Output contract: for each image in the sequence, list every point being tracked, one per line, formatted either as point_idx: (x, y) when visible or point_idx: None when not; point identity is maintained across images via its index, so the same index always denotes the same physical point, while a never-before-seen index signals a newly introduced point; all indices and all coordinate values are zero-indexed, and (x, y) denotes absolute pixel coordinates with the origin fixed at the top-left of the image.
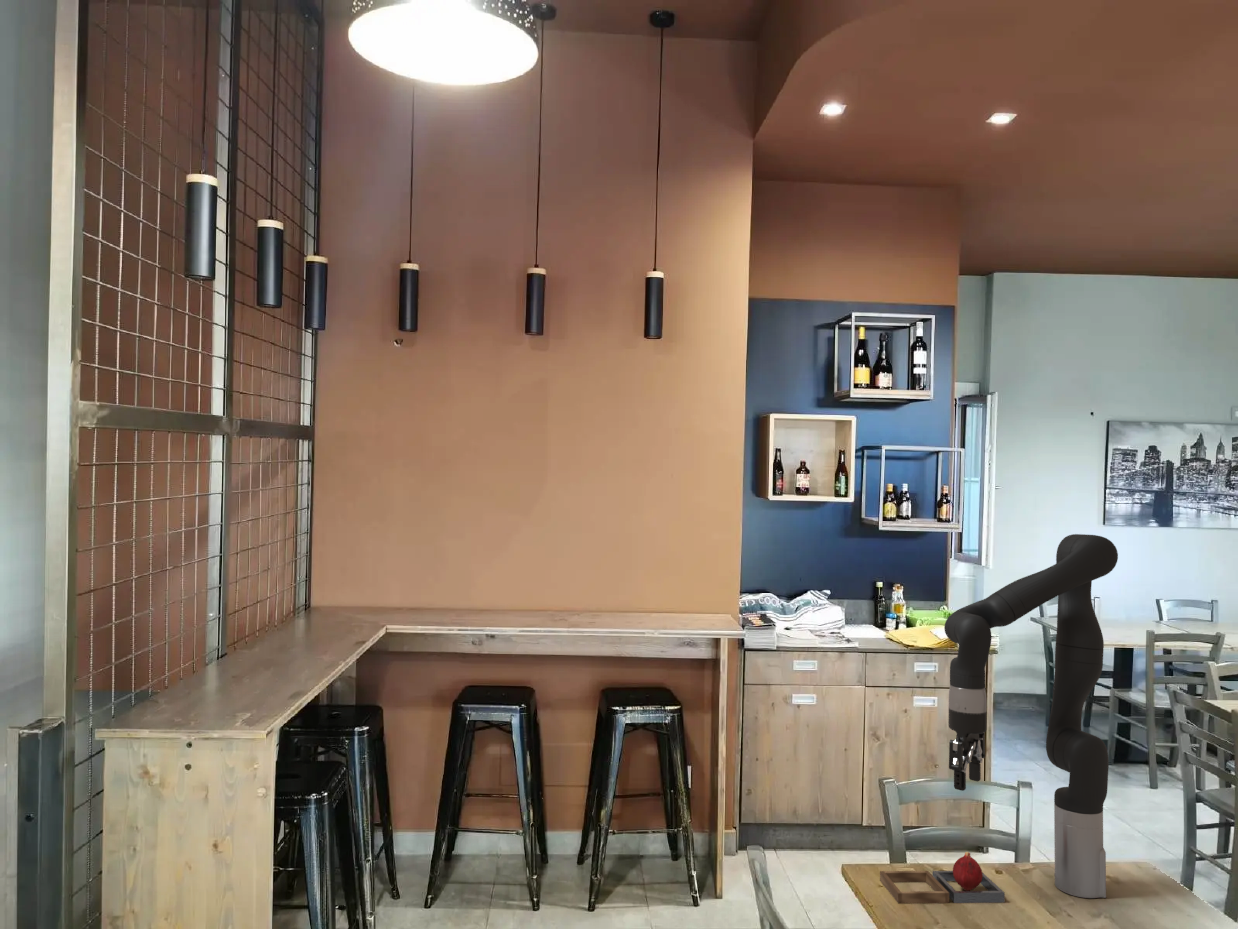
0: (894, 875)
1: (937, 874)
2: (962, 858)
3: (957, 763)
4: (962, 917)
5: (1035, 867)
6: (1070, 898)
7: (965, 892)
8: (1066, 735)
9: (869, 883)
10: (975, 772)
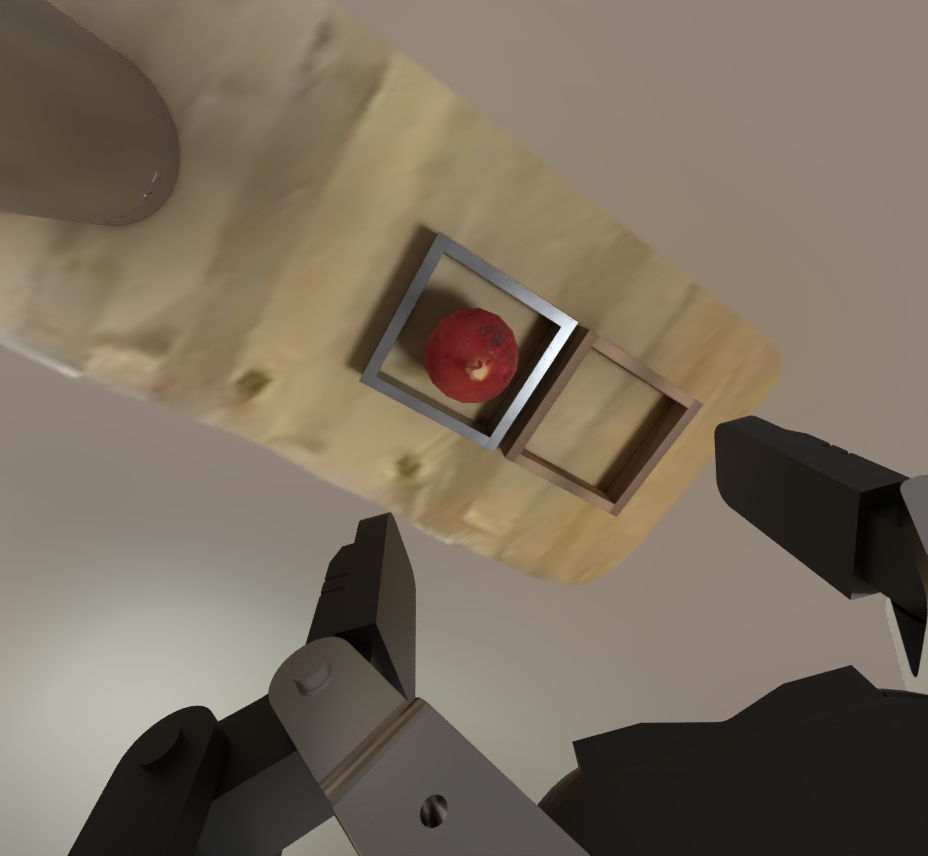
0: (591, 489)
1: (503, 429)
2: (495, 375)
3: (918, 655)
4: (630, 248)
5: (95, 339)
6: (195, 113)
7: (547, 304)
8: None
9: (639, 506)
10: (394, 585)
